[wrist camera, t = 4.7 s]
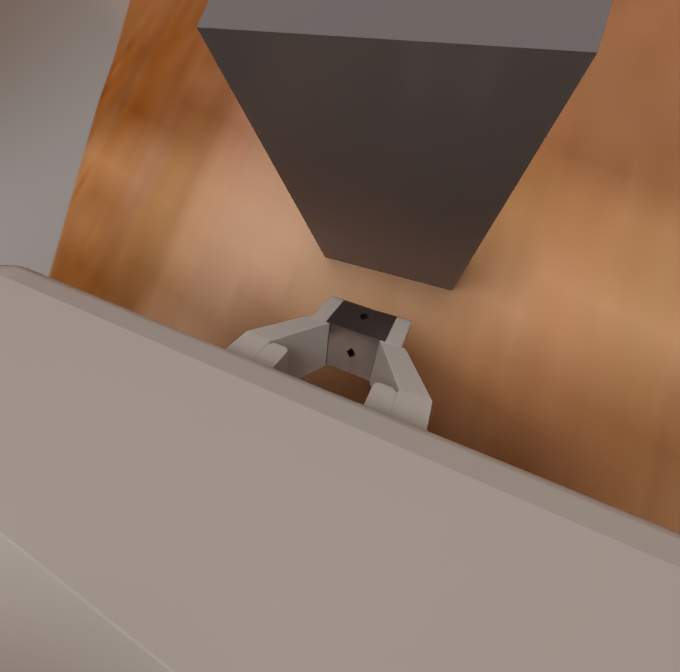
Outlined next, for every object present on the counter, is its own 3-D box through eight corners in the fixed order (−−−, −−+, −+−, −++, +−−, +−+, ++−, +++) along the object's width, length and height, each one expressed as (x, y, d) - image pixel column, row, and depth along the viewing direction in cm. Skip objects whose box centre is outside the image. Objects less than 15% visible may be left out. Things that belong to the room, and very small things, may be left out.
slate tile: (451, 290, 16) (597, 52, 5) (325, 256, 18) (196, 26, 6) (463, 254, 16) (631, -62, 5) (336, 225, 18) (233, -54, 7)
